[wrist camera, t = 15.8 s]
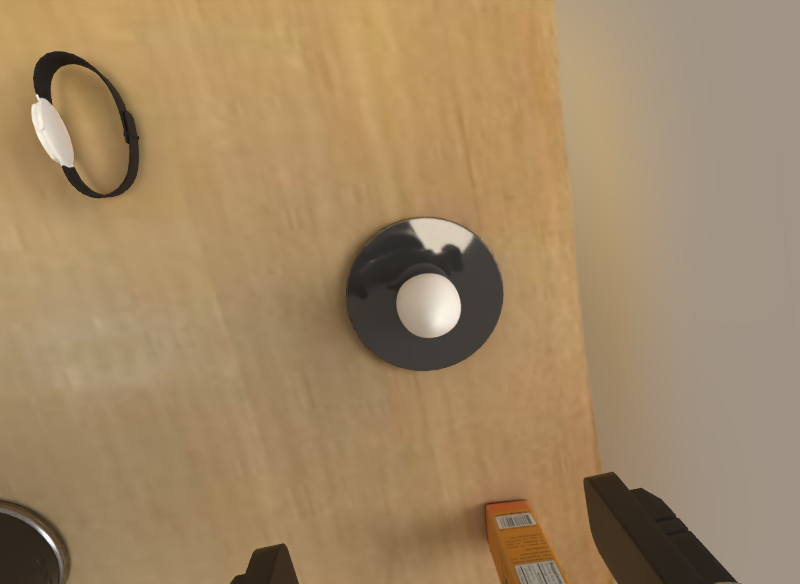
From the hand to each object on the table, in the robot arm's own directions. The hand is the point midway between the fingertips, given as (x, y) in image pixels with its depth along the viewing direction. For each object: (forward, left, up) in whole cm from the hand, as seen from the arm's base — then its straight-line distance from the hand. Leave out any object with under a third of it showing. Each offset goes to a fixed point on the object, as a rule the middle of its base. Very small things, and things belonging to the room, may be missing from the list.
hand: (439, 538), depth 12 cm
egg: (+1, +2, -18) cm, 18 cm away
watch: (-19, +11, -19) cm, 29 cm away
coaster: (+1, +3, -19) cm, 19 cm away
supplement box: (+9, -13, -19) cm, 25 cm away
